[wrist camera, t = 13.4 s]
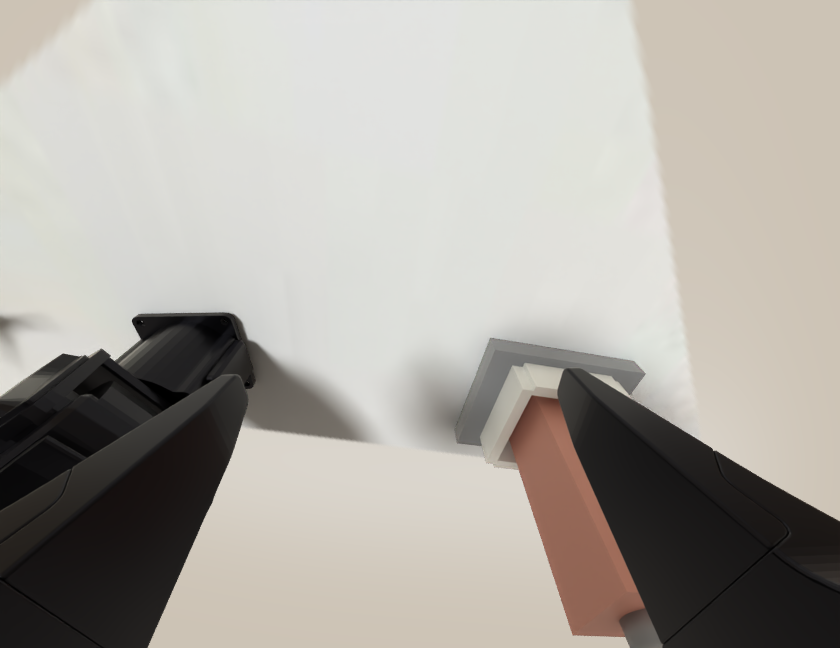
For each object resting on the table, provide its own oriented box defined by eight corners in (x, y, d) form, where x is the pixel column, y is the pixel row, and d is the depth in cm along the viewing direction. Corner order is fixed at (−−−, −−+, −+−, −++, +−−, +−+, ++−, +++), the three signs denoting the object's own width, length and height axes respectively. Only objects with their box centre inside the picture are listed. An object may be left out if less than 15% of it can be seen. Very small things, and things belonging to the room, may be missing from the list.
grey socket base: (454, 429, 29) (461, 469, 26) (490, 337, 24) (504, 372, 21) (576, 443, 31) (598, 483, 28) (633, 361, 26) (668, 397, 23)
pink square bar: (505, 427, 27) (581, 663, 15) (527, 381, 25) (641, 622, 13) (560, 434, 28) (674, 665, 16) (587, 391, 25) (748, 627, 14)
